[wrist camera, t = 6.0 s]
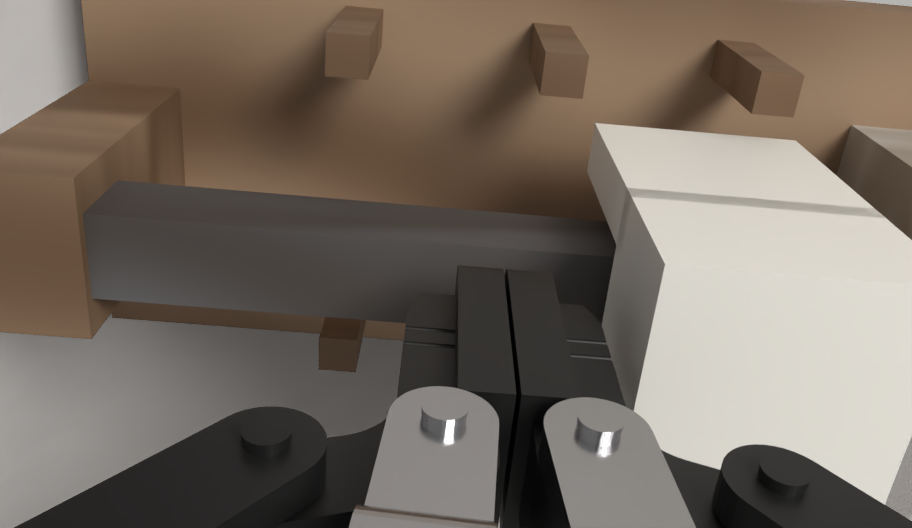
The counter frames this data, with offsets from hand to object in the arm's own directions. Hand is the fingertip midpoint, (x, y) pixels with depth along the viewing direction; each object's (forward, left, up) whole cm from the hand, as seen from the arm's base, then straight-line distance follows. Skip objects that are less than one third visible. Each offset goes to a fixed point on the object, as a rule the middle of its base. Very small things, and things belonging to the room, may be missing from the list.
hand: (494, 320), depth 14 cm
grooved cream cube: (0, +4, -4) cm, 6 cm away
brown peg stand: (0, +1, -8) cm, 8 cm away
